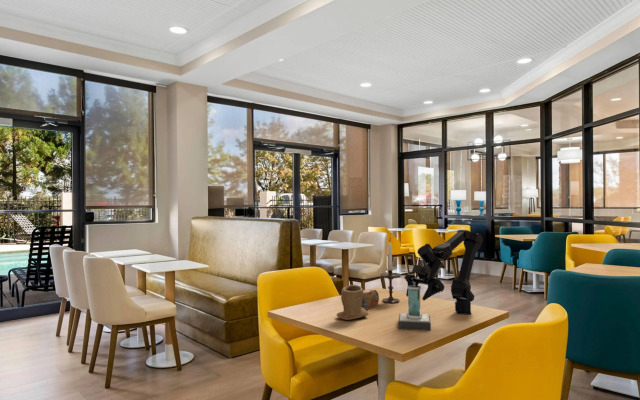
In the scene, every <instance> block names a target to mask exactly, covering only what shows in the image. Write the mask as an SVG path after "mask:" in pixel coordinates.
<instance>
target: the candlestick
mask: <svg viewBox="0 0 640 400" xmlns="http://www.w3.org/2000/svg"><path fill="white" fill-rule="evenodd" d="M391 238H392V237H391V236H390V237H389V239H388V241H389V243H388V246H387V251H388V252H387V253H388V254H387V255H388V269H386V271H388V272H385V273H380V274H379V276H380V278H382V279H387V280H389V282H388V283H389V284H388V285H389V286H387V288H388V293H389V297H386V298H383V299H381V300H382V303H383V304H384V303H385V304H393V305H394V304H398V303H400V299H399V298H394V297H393V293H394V291H393V289H394V286H393V280H394V279H398V278H399V279H400V278H401V277H402V275H401V274H400V273H397V272H396V273H395V272H393V271H394V269H393V247H392V246H393V244H391V242H392V241H391Z"/></svg>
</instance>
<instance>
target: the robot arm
mask: <svg viewBox="0 0 640 400" xmlns="http://www.w3.org/2000/svg"><path fill="white" fill-rule="evenodd" d="M483 242H484V237H483V236H482V234H481V233H477V232H472V231H470V230H468V229H459V230H457V231H456V233H454V235H452V236H451V237H449V239H447V240H446V241H445V242H444V243H440V244H437V245H436V246H434V247H432V246H431V244H430V243H425V244H424V245H422V246H420V247H419V248H418V249H417V254H418V256H419V257H420V259H421V260H422V261H423V262H424V263H425V264H424V265H419V264H413V266H412V270H411V272H412V273H414V274H412V273H406V274H405V275H404V280H405V281H406V283H407V286H410V285H416V286H419V284H420V285H424V286H425V285H426V286H427V288H426V291H424V294H423V296H422V298H421V299H422V301H426V300H427V299H429V298H431V297H432V296H434V295H437V294H439V293H441V292H444V290H445V283H443V282H442V280H441V279H440V278H438V272H439V271H440V269H444V268H445V264H444V261H442V260H445V261H447V260H448V259H450V257H451V256H452V255H453V251H454V250H455V249H456V248H458V246H459V245H460V244H462V243H463V247H464V254H463V257H462V262H461V265H460V269H459V273H458V276H457V278H456V279H453V280H452V282H451V286H450V292H451V296H452V299H453V300H455V302H454V310H455V311H454V312H456V314H458V315H459V314H460V315H472V310H471V309H472V308H471V307H472V305H471V304H472V302H474V301H475V295H474V293H473V292H472V291H471V289H472V288H471V287H472V285H471V283H470V277H471V273H472V269H473V266H474V265H473V264H474V261H475V256H476V254H477V251H479V250H480V249H481V247H482V245H483ZM415 274H416V275H415ZM405 295H406V297H407V298H408V288H406V294H405Z"/></svg>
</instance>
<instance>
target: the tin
mask: <svg viewBox="0 0 640 400" xmlns="http://www.w3.org/2000/svg"><path fill="white" fill-rule="evenodd" d="M363 293H364V296H363V300H362V305H361V308H365V310H366V311H367V310H371V309H374V308H375V307H377V306H378V305H379V300H380V295H379V293H378V291H377V289H376V290H375V289H372V290H371V289H370V290H367V291H365V292H364V291H363Z"/></svg>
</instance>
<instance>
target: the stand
mask: <svg viewBox="0 0 640 400" xmlns="http://www.w3.org/2000/svg"><path fill="white" fill-rule="evenodd" d="M407 313H408V312H400V313H398V315H399V316H398V329H399V330H401V329H402V330H419V331H431V330H432V327H431V326H432V325H431V323H432V322H431V317H430V314H429V313H421V314H422V315H423V318H421V319H410V318H407V317H406V314H407Z"/></svg>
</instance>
